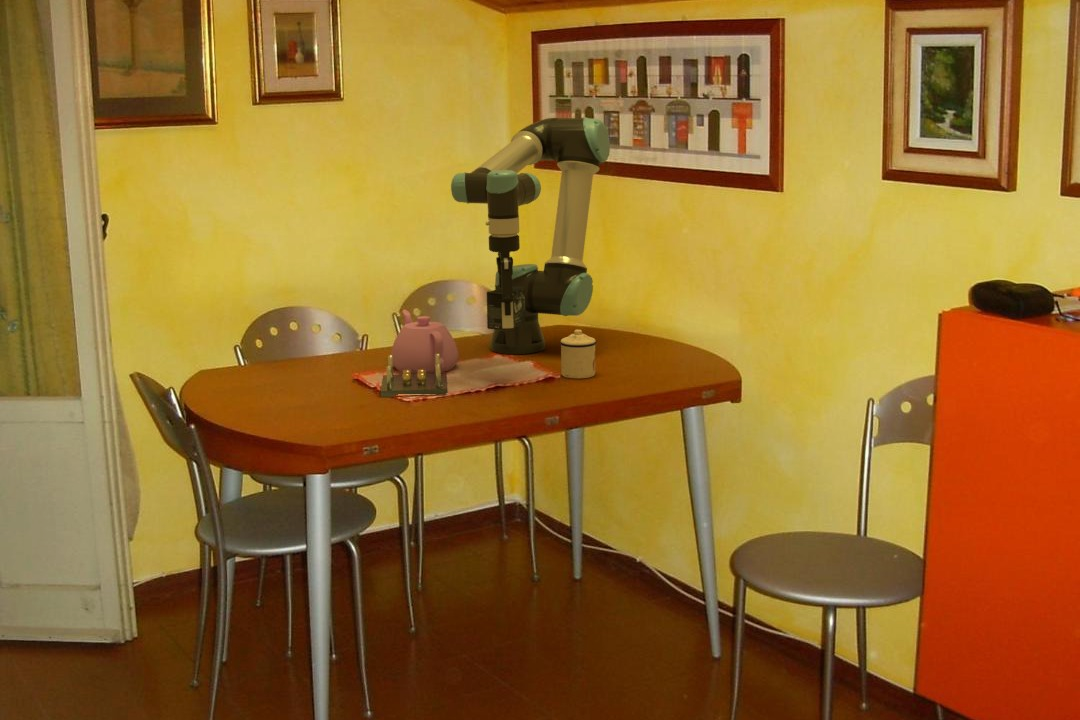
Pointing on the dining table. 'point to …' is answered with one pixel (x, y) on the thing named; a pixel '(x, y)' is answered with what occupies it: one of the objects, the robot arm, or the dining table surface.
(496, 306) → the box
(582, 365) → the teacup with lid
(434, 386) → the chassis
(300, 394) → the dining table surface
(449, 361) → the teapot
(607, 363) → the dining table surface
